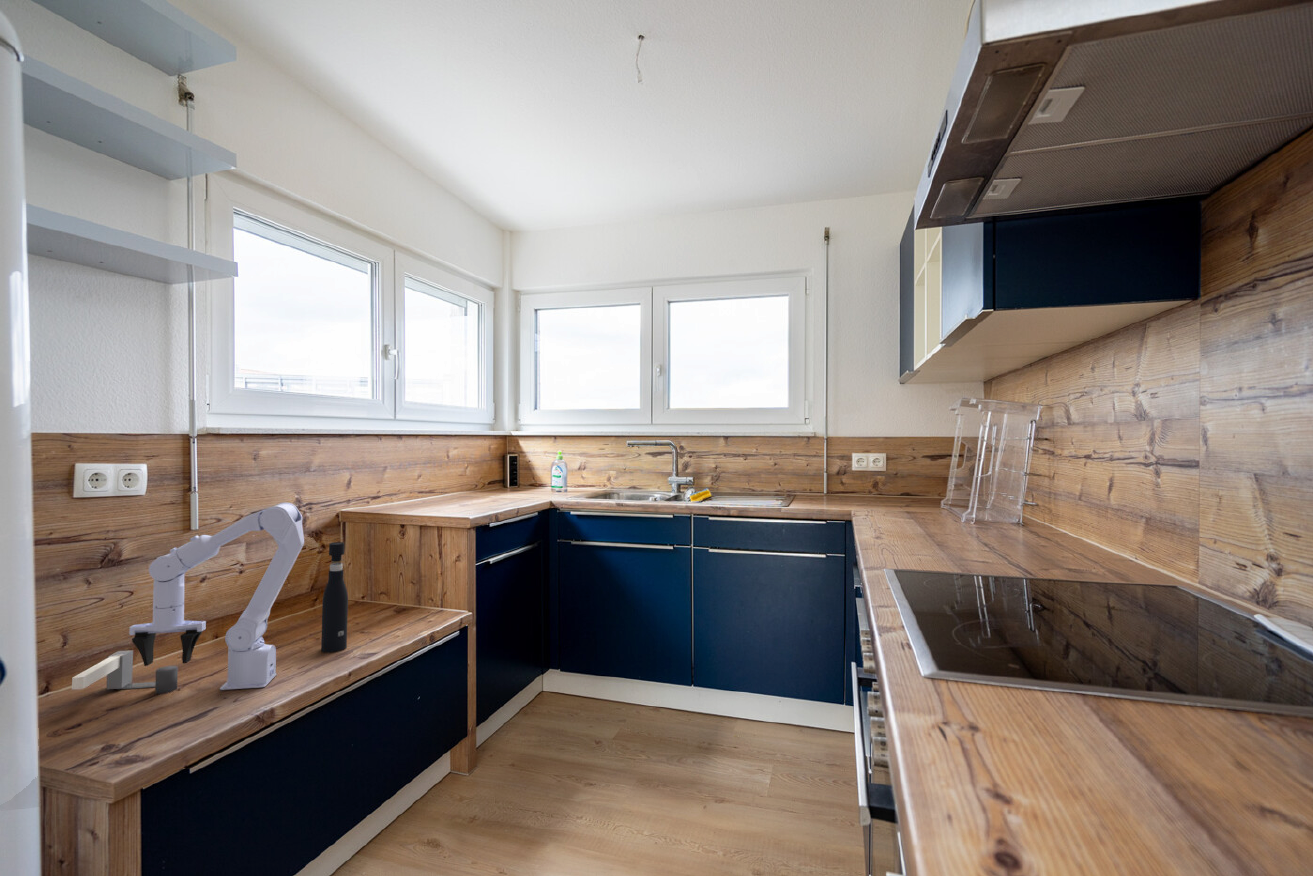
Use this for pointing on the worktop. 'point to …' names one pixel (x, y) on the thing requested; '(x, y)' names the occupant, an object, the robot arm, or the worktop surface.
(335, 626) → the black water bottle
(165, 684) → the plug
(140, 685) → the rail
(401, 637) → the worktop surface
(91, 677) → the tie bar
